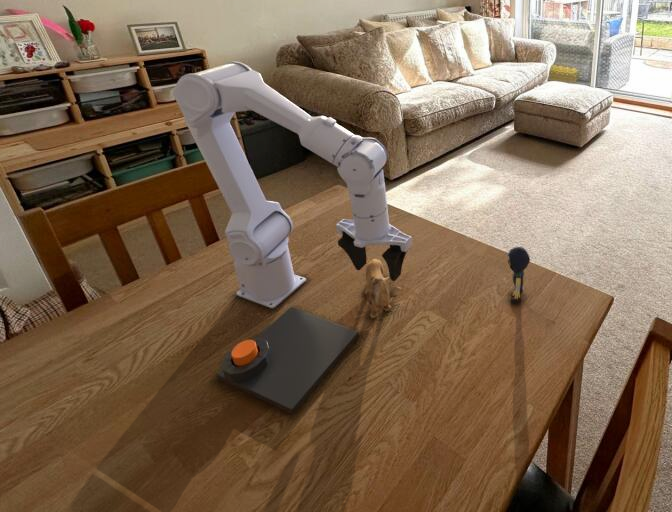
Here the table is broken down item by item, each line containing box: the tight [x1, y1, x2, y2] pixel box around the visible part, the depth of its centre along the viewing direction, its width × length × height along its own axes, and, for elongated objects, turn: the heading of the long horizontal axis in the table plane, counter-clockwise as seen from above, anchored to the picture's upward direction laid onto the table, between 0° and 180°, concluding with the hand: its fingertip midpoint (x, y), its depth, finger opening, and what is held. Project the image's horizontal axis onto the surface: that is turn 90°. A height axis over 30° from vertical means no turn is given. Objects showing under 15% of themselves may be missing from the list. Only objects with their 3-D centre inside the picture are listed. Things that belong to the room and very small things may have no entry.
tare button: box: [231, 339, 258, 366], centre depth 62 cm, size 3×3×2 cm
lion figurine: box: [364, 258, 402, 319], centre depth 75 cm, size 15×5×9 cm, turn 33°
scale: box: [215, 306, 360, 415], centre depth 65 cm, size 15×14×3 cm
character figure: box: [507, 246, 531, 304], centre depth 76 cm, size 9×4×12 cm, turn 178°
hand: (378, 271), depth 74 cm, fingers open, 7 cm apart
